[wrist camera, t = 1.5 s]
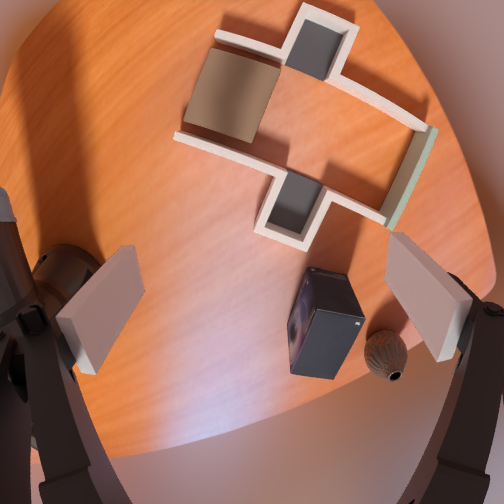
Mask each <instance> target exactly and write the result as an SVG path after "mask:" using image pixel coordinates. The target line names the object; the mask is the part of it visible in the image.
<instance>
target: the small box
mask: <svg viewBox="0 0 504 504" xmlns="http://www.w3.org/2000/svg"><path fill="white" fill-rule="evenodd" d="M365 320H366V318H365V316H364V314H363V312H362V309H361V307H360V305H359V302H358V300H357V298H356V296H355V293H354V291H353V289H352V287H351V284H350V282H349V279H348V276H347V275H345V274H339V273H334V272H329V271H325V270H321V269H318V268H311V267H308V268H307V270H306V273H305V276H304V279H303V282H302V285H301V287H300V290H299V293H298V296H297V299H296V301H295V304H294V307H293V310H292V313H291V315H290V318H289V321H288V324H287V333H288V346H289V360H290V373H291V374H295V375H301V376H308V377H316V378H324V379H332V380H333V379H334V378H335V376H336V374H337V373H338V371H339V369H340V367H341V365H342V364H343V362H344V360H345V358H346V356H347V355H348V353H349V351H350V349H351V347H352V345H353V343H354V341H355V339H356V337H357V336H358V334H359V332H360V330H361V328H362V326H363V324H364V322H365Z"/></svg>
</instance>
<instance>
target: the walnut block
mask: <svg viewBox="0 0 504 504" xmlns="http://www.w3.org/2000/svg"><path fill="white" fill-rule="evenodd" d="M280 72H281V69H278V68H276V67H273V66H270V65H267V64H264V63H261V62H258V61H255V60H252V59H249V58H246V57H243V56H240V55H236V54H233V53H230V52H226V51H222V50H219V49H215V48H211V49H210V51H209V54H208V56H207V58H206V61H205V63H204V66H203V68H202V71H201V73H200V76H199V78H198V81H197V83H196V86H195V89H194V91H193V94H192V97H191V99H190V102H189V105H188V107H187V110H186V113H185V116H184V119H183V121H185V122H188V123H192V124H195V125H198V126H201V127H204V128H207V129H210V130H213V131H216V132H219V133H222V134H225V135H228V136H231V137H234V138H237V139H240V140H242V141H245V142H248V143H252V142H253V140H254V137H255V134H256V132H257V129H258V127H259V124H260V122H261V119H262V117H263V114H264V112H265V109H266V107H267V104H268V102H269V99H270V97H271V94H272V92H273V90H274V87H275V85H276V82H277V80H278V77H279V75H280Z"/></svg>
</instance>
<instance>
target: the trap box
mask: <svg viewBox="0 0 504 504" xmlns="http://www.w3.org/2000/svg"><path fill="white" fill-rule="evenodd" d="M359 28H360V27H359V26H357V25H355V24H353V23H351V22H348V21H346V20H344V19H342V18H340V17H338V16H335V15H333V14H331V13H329V12H326V11H324V10H322V9H319V8H317V7H314V6H312V5H309V4H307V3H304V2H303V3H302V5H301V7H300V10H299V12H298V14H297V16H296V18H295V20H294V22H293V24H292V26H291V29H290V31H289V33H288V35H287V37H286V39H285V42H284V44H283V46H282V48H281V49H279V48H276V47H273V46H271V45H268V44H265V43H262V42H259V41H256V40H253V39H250V38H247V37H243V36H240V35H237V34H233V33H230V32H226V31H223V30H219V29H217V30H216V33H215V35H214V37H215V39H216V41H217V42H218V43H220V44H224V45H227V46H231V47H234V48H237V49H240V50H244V51H247V52H250V53H253V54H256V55H259V56H262V57H264V58H267V59H270V60H273V61H275V62H278V63H281V64H283V65H286V66H288V67H291V68H293V69H296V70H298V71H301V72H303V73H306V74H308V75H310V76H313V77H315V78H317V79H319V80H322V81H324V82H326V83H328V84H330V85H332V86H334V87H337V88H339V89H341V90H343V91H345V92H347V93H349V94H351V95H353V96H355V97H357V98H359V99H360V100H362V101H364V102H366V103H368V104H370V105H372V106H373V107H375V108H377V109H379V110H381V111H382V112H384V113H386V114H388V115H389V116H391V117H393V118H394V119H396V120H398V121H399V122H401V123H403V124H404V125H406V126H408V127H409V128H411V129H412V130H414V131H415V134H414V136H413V138H412V141H411V143H410V146H409V148H408V150H407V153H406V155H405V157H404V159H403V162H402V164H401V166H400V168H399V170H398V173H397V175H396V177H395V179H394V181H393V183H392V186H391V188H390V190H389V192H388V194H387V196H386V198H385V200H384V202H383V204H382V206H381V208H380V210H379V211H377V210H375V209H373V208H371V207H369V206H367V205H365V204H363V203H361V202H359V201H357V200H355V199H353V198H350V197H348V196H346V195H344V194H342V193H340V192H338V191H335V190H333V189H331V188H329V187H327V186H324V185H322V184H320V183H318V182H315V181H313V180H311V179H309V178H306V177H304V176H302V175H299V174H297V173H294V172H292V171H290V170H287V169H285V168H282V167H280V166H278V165H275V164H273V163H270V162H268V161H265V160H263V159H260V158H257V157H255V156H252V155H250V154H247V153H244V152H242V151H239V150H236V149H234V148H231V147H228V146H225V145H223V144H220V143H217V142H214V141H211V140H209V139H206V138H203V137H200V136H197V135H194V134H191V133H188V132H185V131H175V134H174V137H173V140H176V141H179V142H182V143H185V144H188V145H191V146H194V147H196V148H199V149H202V150H205V151H208V152H211V153H214V154H216V155H219V156H222V157H225V158H227V159H230V160H233V161H235V162H238V163H241V164H243V165H246V166H249V167H251V168H254V169H256V170H259V171H262V172H264V173H267V174H269V175H272V176H274V177H273V180H272V182H271V184H270V187H269V189H268V191H267V194H266V196H265V199H264V201H263V203H262V206H261V208H260V210H259V213H258V215H257V218H256V220H255V222H254V228H253V232H255V233H258V234H260V235H263V236H266V237H268V238H271V239H274V240H276V241H279V242H281V243H284V244H286V245H289V246H292V247H294V248H297V249H299V250H302V251H304V252H307V251H308V249H309V247H310V245H311V243H312V241H313V239H314V237H315V235H316V233H317V231H318V228H319V226H320V224H321V222H322V220H323V218H324V216H325V214H326V212H327V210H328V208H329V206H330V203H331V201H333V202H335V203H337V204H339V205H342V206H344V207H346V208H348V209H350V210H353V211H355V212H357V213H359V214H361V215H363V216H365V217H367V218H369V219H372V220H374V221H376V222H378V223H380V224H382V225H384V226H385V227H386V228H387V229H389V230H391V231H393V229H394V228H395V226H396V224H397V222H398V220H399V218H400V216H401V214H402V212H403V210H404V208H405V206H406V204H407V202H408V200H409V198H410V196H411V193H412V191H413V189H414V187H415V185H416V183H417V181H418V178H419V176H420V174H421V172H422V170H423V167H424V165H425V163H426V160H427V158H428V156H429V153H430V151H431V149H432V146H433V144H434V141H435V139H436V137H437V134H438V132H439V130H437V129H436V128H435V127H433V126H428V125H427V124H425V123H424V122H422V121H421V120H419V119H418V118H416V117H415V116H413V115H412V114H410V113H409V112H407V111H405V110H404V109H402V108H400V107H399V106H397V105H396V104H394V103H392V102H391V101H389V100H387V99H385V98H384V97H382V96H380V95H378V94H377V93H375V92H373V91H371V90H369V89H367V88H366V87H364V86H362V85H360V84H358V83H356V82H354V81H352V80H350V79H348V78H346V77H344V76H342V75H340V73H341V71H342V68H343V66H344V64H345V61H346V59H347V56H348V54H349V52H350V49H351V47H352V45H353V42H354V40H355V38H356V35H357V33H358V30H359Z"/></svg>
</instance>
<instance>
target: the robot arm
mask: <svg viewBox="0 0 504 504" xmlns="http://www.w3.org/2000/svg"><path fill="white" fill-rule="evenodd" d="M16 222H17V219H16V218H15V217H14V214H13V210H12V207H11V204H10V200H9V196H8V194H7V192H6V191H5V190H4V189H3V188H2V187H0V504H31V485H30V454H31V433H32V424H33V429H34V434H35V439H36V444H37V448H38V453H39V457H40V461H41V465H42V468H43V472H44V475H45V481H44V482H41V483H40V484H39V492H40V496H41V499H42V502H43V504H132V502H131V501H130V499H129V497H128V496H127V494H126V492H125V490H124V488H123V486H122V485H121V483H120V481H119V479H118V477H117V475H116V473H115V471H114V469H113V467H112V465H111V463H110V461H109V459H108V457H107V455H106V453H105V450H104V448H103V446H102V444H101V442H100V439H99V437H98V435H97V432H96V430H95V428H94V425H93V423H92V420H91V418H90V415H89V413H88V410H87V407H86V405H85V402H84V399H83V396H82V393H81V391H80V388H79V385H78V382H77V378H76V375H75V373H74V371H73V369H72V367H73V366H74V364H75V362H76V363H77V365H78V367H79V369H80V371H81V373H86V374H93V375H97V373H98V371H99V369H100V367H101V366H102V364H103V362H104V360H105V358H106V357H107V355H108V353H109V351H110V350H111V348H112V346H113V344H114V343H115V341H116V339H117V337H118V336H119V334H120V332H121V330H122V329H123V327H124V325H125V324H126V322H127V320H128V319H129V317H130V315H131V314H132V312H133V310H134V309H135V307H136V305H137V304H138V302H139V300H140V299H141V297H142V296H143V294H144V292H145V289H144V285H143V281H142V276H141V272H140V268H139V263H138V259H137V254H136V250H135V245H129V246H121V247H120V248H119V249H118V250H117V251H116V252H115V253H114V254H113V255H112V256H111V257H110V258H109V259H108V260H107V261H106V262H105V263H104V264H103V266H102V267H101V266H100V264H99V263H98V262H97V261H96V260H95V259H94V258H93V257H92V256H91V255H90V254H88V253H87V252H86V251H84V250H82V249H80V248H78V247H76V246H73V245H68V244H60V245H56V246H54V247H52V248H50V249H49V250H48V251H46V252H45V253H44V254H43V255H42V256H41V257H40V258H39V259H38V261H37V263H36V265H35V267H34V269H33V271H32V272H31V270H30V267H29V264H28V261H27V258H26V255H25V252H24V249H23V246H22V242H21V239H20V236H19V232H18V228H17V224H16ZM384 281H385V282H386V284H387V285H388V287H389V288H390V289H391V291H392V292H393V294H394V295H395V297H396V298H397V300H398V301H399V303H400V304H401V306H402V307H403V309H404V310H405V312H406V313H407V315H408V317H409V318H410V320H411V321H412V323H413V324H414V326H415V328H416V329H417V331H418V332H419V334H420V335H421V337H422V339H423V340H424V342H425V344H426V345H427V347H428V349H429V350H430V352H431V354H432V355H433V357H434V359H435V360H436V362H439V361H444V360H448V359H452V357H453V355H454V352H455V350H456V347H458V349H459V350H460V352H461V354H460V357H459V359H458V362H457V364H456V366H455V368H454V371H453V373H452V374H454V376H453V379H452V382H451V386H450V388H449V392H448V394H447V398H446V400H445V403H444V406H443V409H442V411H441V414H440V417H439V419H438V422H437V424H436V427H435V429H434V431H433V434H432V436H431V438H430V441H429V443H428V445H427V448H426V450H425V452H424V454H423V456H422V458H421V460H420V462H419V465H418V466H417V468H416V471H415V472H414V474H413V476H412V478H411V480H410V482H409V484H408V486H407V487H406V489H405V491H404V493H403V494H402V496H401V498H400V499H399V501H398V502H397V504H483V502H484V499H485V496H486V493H487V490H488V487H489V483H490V475H488V474H485V468H486V464H487V461H488V457H489V454H490V450H491V446H492V441H493V437H494V433H495V428H496V423H497V419H498V413H499V407H500V401H501V395H502V394H503V403H504V309H503V308H502V307H501V306H499V305H498V304H495V303H493V302H482V301H481V300H480V299H479V298H478V297H477V296H476V295H475V294H474V293H473V292H472V291H471V290H470V289H468V287H467V286H466V285H465V284H464V283H463V282H462V281H461V280H460V279H459V278H458V277H456V276H455V275H453V274H451V273H449V272H446V271H445V270H444V269H443V268H442V267H441V266H439V265H438V264H437V263H436V262H435V261H434V260H433V259H432V258H431V257H430V256H429V255H428V254H427V253H426V252H425V251H423V250H422V249H421V248H420V247H419V246H418V245H417V244H416V243H415V242H413V241H412V240H411V239H410V238H409V237H408V236H407V235H406V234H404V233H403V232H393V233H390V238H389V247H388V256H387V264H386V272H385V279H384Z"/></svg>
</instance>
